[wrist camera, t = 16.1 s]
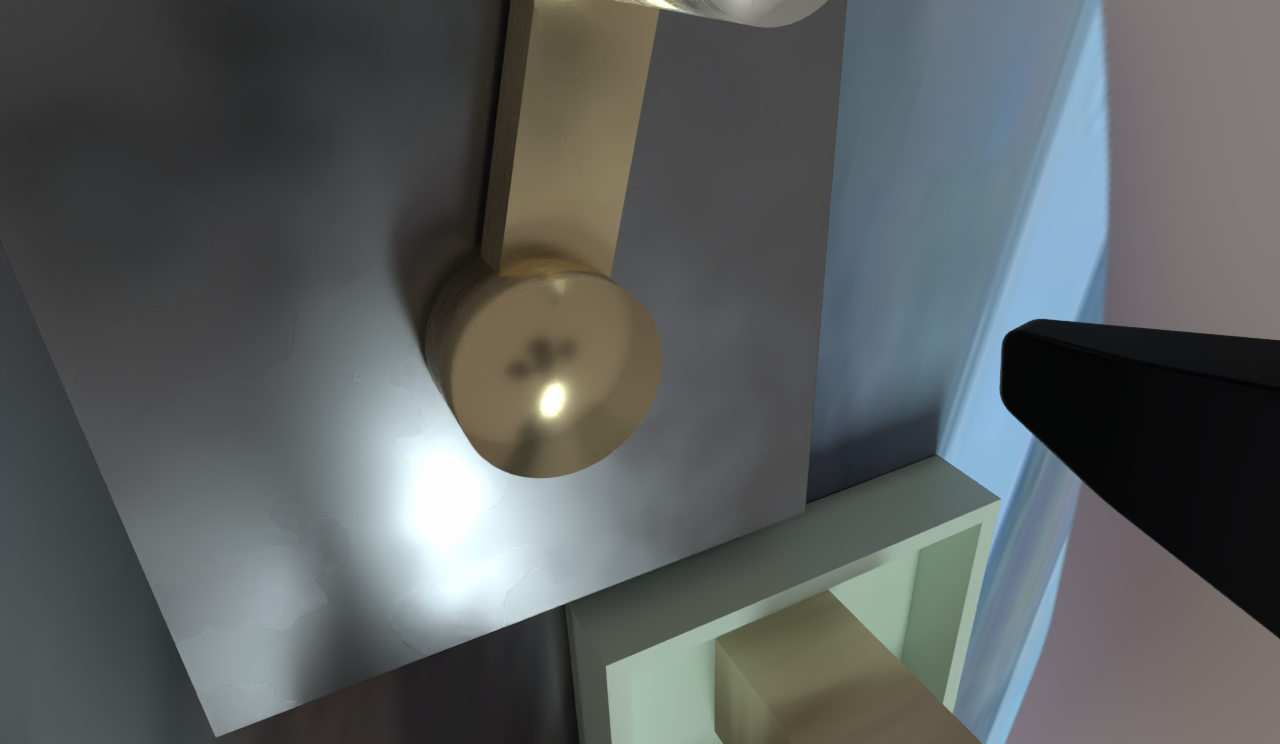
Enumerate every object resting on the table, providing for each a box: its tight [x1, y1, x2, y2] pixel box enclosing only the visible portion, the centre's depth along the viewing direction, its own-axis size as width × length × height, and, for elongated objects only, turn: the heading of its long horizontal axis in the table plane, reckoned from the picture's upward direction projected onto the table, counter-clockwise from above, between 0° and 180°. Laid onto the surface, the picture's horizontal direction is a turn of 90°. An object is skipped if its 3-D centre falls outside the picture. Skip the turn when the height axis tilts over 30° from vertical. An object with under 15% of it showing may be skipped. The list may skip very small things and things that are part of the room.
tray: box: [565, 455, 1001, 744], centre depth 25 cm, size 10×12×2 cm
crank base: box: [0, 0, 847, 737], centre depth 16 cm, size 15×14×2 cm
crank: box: [425, 0, 828, 478], centre depth 12 cm, size 10×4×5 cm, turn 168°
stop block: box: [715, 590, 982, 744], centre depth 23 cm, size 4×4×6 cm
